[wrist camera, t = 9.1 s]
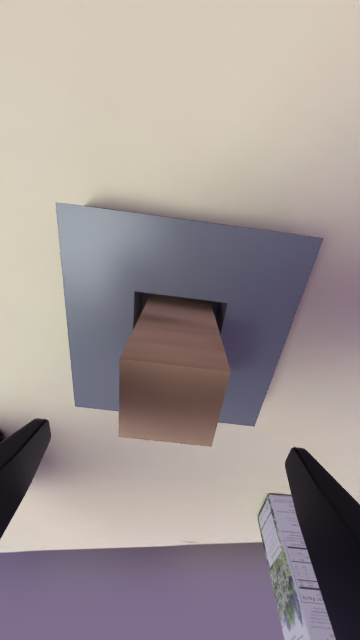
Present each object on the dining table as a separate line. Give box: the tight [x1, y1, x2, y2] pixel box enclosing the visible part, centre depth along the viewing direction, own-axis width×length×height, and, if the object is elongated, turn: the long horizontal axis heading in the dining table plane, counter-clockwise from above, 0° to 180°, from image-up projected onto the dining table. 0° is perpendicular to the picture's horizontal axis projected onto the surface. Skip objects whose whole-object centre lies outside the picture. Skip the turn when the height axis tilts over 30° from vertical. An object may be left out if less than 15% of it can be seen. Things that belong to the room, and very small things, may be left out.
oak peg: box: [119, 293, 231, 446], centre depth 14 cm, size 4×4×9 cm
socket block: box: [56, 202, 323, 426], centre depth 17 cm, size 15×15×4 cm
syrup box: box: [258, 494, 336, 640], centre depth 23 cm, size 6×6×14 cm
